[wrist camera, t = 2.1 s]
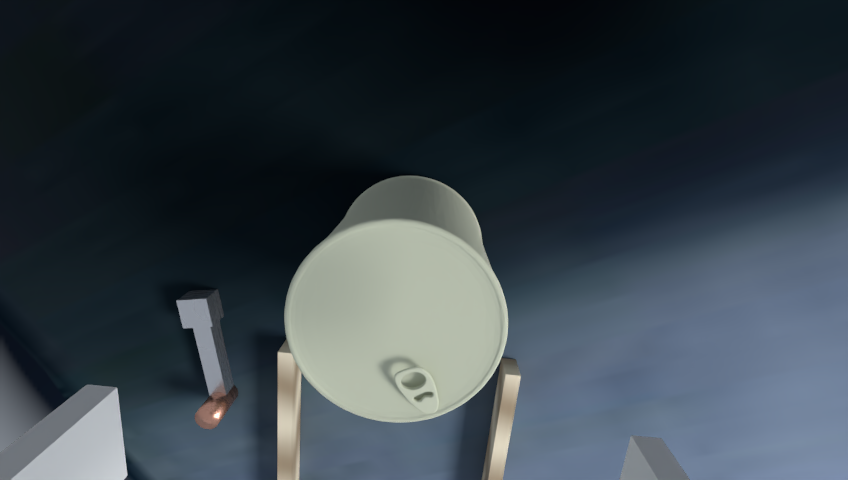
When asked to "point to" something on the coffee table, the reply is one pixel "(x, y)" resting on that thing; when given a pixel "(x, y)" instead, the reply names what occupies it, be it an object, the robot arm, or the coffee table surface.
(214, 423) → the crank handle
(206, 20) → the coffee table surface
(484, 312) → the can
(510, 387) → the wooden frame
